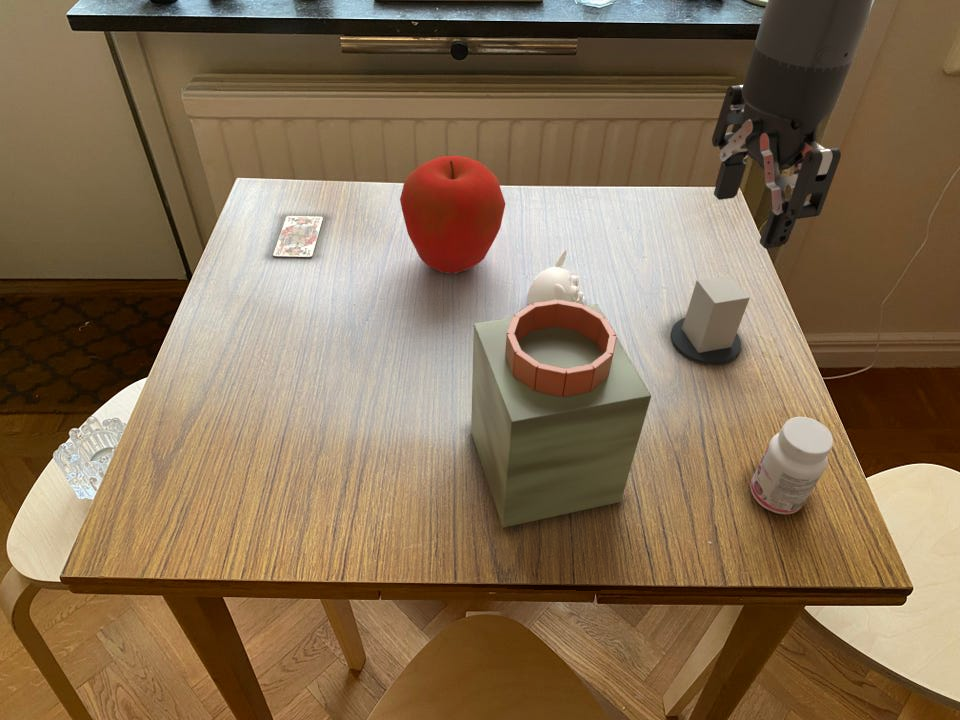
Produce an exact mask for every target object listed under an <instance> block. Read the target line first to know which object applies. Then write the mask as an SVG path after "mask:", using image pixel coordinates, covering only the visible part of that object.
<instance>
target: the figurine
mask: <svg viewBox="0 0 960 720" xmlns="http://www.w3.org/2000/svg"><path fill="white" fill-rule="evenodd" d="M566 257H567V250H566V249H563V250H562V251H561V252H560V254H559V256H558V258H557V260H556V262H555V266H550V267H548V268H546V269H544V270H543V271H541V272H540V273H539V274H537V276H536V277H535V278H534V280H532V282H531V285H530V287H529V288H528V292H527V295H526V307H527V306H528V305H530V304H533V303H536V302H543V301H549V300H557V301H558V300H564V301H570V302H575V303H580V304H584V303H585V300H586V298H585V296H584V295H585V294H584V293H583V292H582V291H581V290H580V285H579V281H580V280H579V279H580V276H579V275H575V274H572V272H571V271H570V270H568V269H567V268H564V267H563V265H564V263H565V260H566Z"/></svg>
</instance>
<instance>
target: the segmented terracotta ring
mask: <svg viewBox="0 0 960 720" xmlns="http://www.w3.org/2000/svg"><path fill="white" fill-rule="evenodd" d="M588 306H589V305H587V304H584V303H582V304H580V303H575V302H570V301H564V300H558V301H557V300H549V301H543V302H536V303H533V304H530V305H528V306H527V305H526V306H525V307H524V308H522V309H521V310H519V311H518V312H516V313H515V314H513V315H512V317H511V318H512V319H511V322H510V325H509V328H508V330H507V334H506V349H505V358H506V360H507V363H508V365H509V368H510V370H511V373H512V375H514V377H515V378H517V379H518V380H519V381H521V382H522V383H524V384H525V385H526V386H528V387H529V388H531V389H532V390H535V391H536V392H541V393H546V394H550V395H555V396H560V397H562V396H563V397H566V396H572V395H577V394H583V393H588V392H590V391H592V390H593V389H595V388H596V387H597V386H598V385H600V384H601V383H602V382H603V381H605V380H606V379H607V378H608V376H609V372H610V368H611V363H612V359H613V354H614V349H615V344H616V339H617V338H618V337H617V333H616V332H615V330H614V328H613V326H612V325H611V323H610V321H609V320H608V318H607V317H606V315H604V316H603V315H601V314H600V313H598V312H596V311H595V310H593V309H591V308H590V307H588ZM550 327H559V328H564V329H569V330H574V331H578V332H580V333H581V334H583V335H585V336H586V337H588V338H589V339H591V340H592V341H594V342H596V344H597V346H598V348H599V349H600V351H601V353H602V355H601V356H600V357H599V358H597V359H596V360H595V361H594V362H592V363H591V364H588V365H583V366H577V367H571V368H561V367H556V366H551V365H546V364H542V363H539V362H538V361H536V360H535V359H534V358H532V357H531V356H529V355H528V354H526V353H525V352H523V351H522V350H521V348H520V346H519V343H518V340H520V339H521V338H523V337H524V336H526V335H527V334H529V333H530V332H531V331H533V330H538V329H544V328H550Z"/></svg>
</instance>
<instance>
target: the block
mask: <svg viewBox="0 0 960 720" xmlns="http://www.w3.org/2000/svg"><path fill="white" fill-rule="evenodd" d="M749 301H750V296H749V295H748V293H747V292H746V291H745V290H744V289H743V288H742V287H741V285H740V284H739V283H738V282H737V280H736V279H735V278H734V277H733V276H732V275H731V274H726V275H725V274H724V275H719V276H712V277H706V278H700V279H696V281H695V284H694V288H693V291H692V294H691V298H690V300H689V304H688V307H687V311H686V315H685V317H684V318H685V320H684V324H683V327H682V330H683V331H684V333H685V334H686V336H687V337H688V339H689V340H690V342H691V343H692V344H693V346H694V347H695V349H696V350H697V352H698V353H701V352H707V351H712V350H718V349H723V348H729V347H731V346H732V344H733V341H734V338H735V336H736V333H737V334H738V331H739V327H740V325H741V323H742V320H743V317H744V315H745V313H746V310H747V306H748V304H749Z"/></svg>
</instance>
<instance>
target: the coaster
mask: <svg viewBox="0 0 960 720" xmlns="http://www.w3.org/2000/svg"><path fill="white" fill-rule="evenodd" d="M684 320H685V317H683V318H681V319H679V320H677V321H676V322H675V323H674V324H673V326H672V328H671V330H670V340H671V344H672V345H673V346H674V348H675V349H676V350H677V351H678V353H680V354H681V355H683V356H684V357H686V358H687V359H689V360H691V361H694V362H696V363H699V364H703V365H715V366H716V365H718V366H719V365H724V364H727V363H730V362H732V361H733V360H735V359H737V357H738V356H739V354H740V352H741V350H742V339H741V338H740V335H739V334H738V332H737V333H736V336H735V338H734V341H733V344H732V346H731V347H729V348H723V349H718V350H712V351H707V352H701V353H698V352H697V350H696V349H695V347H694V346H693V344H692V343H691V342H690V340H689V339H688V337H687V336H686V334H685V333H684V331H683V330H682V327H683V324H684Z"/></svg>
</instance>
